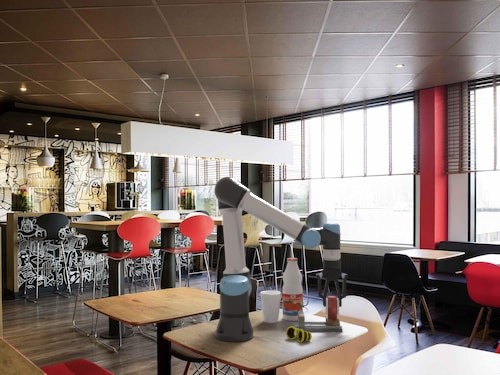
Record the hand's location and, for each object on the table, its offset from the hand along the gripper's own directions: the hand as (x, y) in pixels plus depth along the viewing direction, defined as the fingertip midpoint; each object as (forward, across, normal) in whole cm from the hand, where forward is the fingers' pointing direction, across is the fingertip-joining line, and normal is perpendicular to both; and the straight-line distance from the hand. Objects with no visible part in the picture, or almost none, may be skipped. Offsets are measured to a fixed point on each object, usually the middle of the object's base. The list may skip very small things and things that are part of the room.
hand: (332, 314), depth 182 cm
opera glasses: (+7, -15, -16) cm, 23 cm away
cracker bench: (+6, -6, 0) cm, 8 cm away
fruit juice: (+6, -16, +16) cm, 24 cm away
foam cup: (+6, -26, +11) cm, 29 cm away
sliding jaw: (+4, 0, 0) cm, 4 cm away
